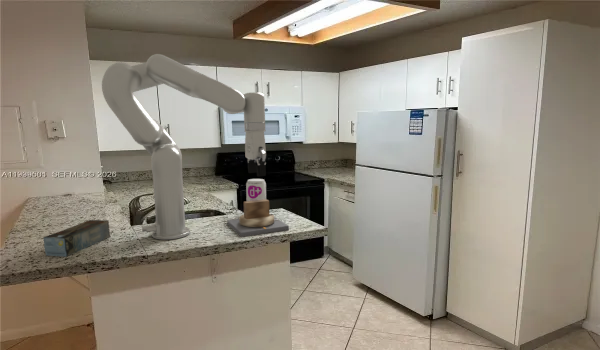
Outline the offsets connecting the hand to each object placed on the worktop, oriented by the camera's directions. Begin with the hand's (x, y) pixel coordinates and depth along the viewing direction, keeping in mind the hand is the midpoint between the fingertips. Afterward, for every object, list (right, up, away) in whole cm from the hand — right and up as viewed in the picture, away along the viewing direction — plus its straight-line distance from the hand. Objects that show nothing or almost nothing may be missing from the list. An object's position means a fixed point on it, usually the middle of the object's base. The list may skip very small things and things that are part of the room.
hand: (256, 174), depth 132 cm
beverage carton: (-55, -23, -17) cm, 62 cm away
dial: (0, -18, +2) cm, 18 cm away
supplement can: (-3, -17, +21) cm, 27 cm away
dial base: (0, -20, +3) cm, 20 cm away
